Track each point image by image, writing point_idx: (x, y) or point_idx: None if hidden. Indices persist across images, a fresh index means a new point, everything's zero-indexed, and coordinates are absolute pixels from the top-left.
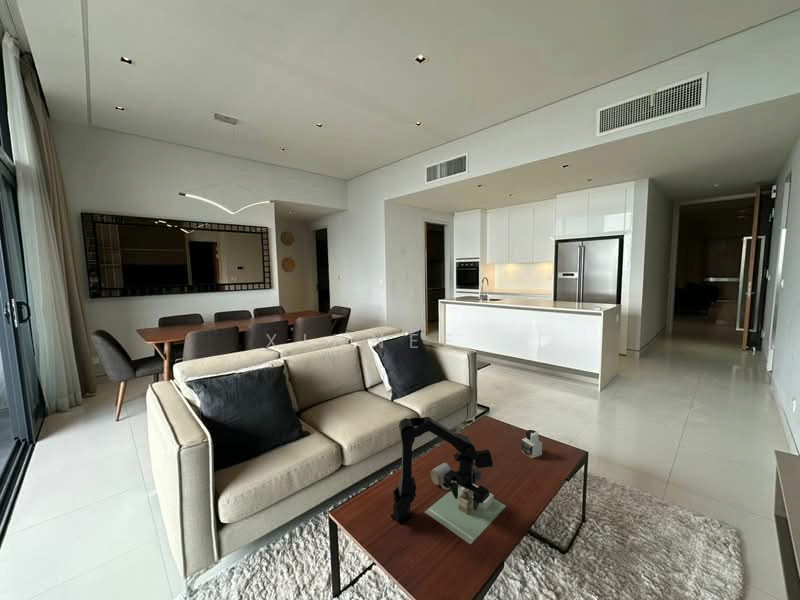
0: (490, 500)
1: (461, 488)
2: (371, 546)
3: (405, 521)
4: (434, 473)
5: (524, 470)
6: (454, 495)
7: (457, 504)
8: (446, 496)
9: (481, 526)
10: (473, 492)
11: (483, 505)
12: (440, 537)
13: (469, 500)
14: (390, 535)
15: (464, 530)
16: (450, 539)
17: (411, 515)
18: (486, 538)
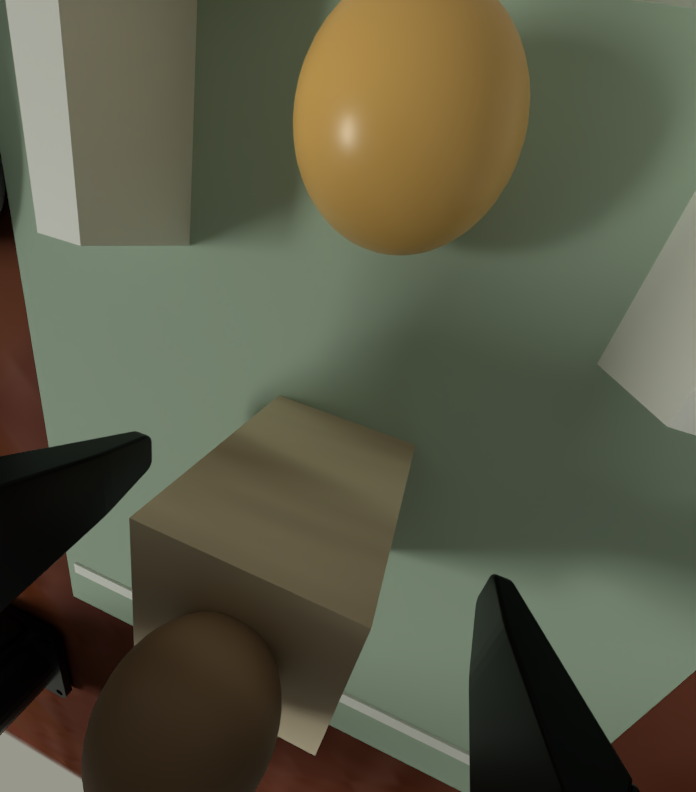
0: None
1: (34, 203)
2: (80, 770)
3: (61, 681)
4: None
5: None
6: (72, 541)
7: (215, 432)
8: (55, 357)
9: (609, 672)
10: (303, 157)
11: (638, 395)
12: (284, 745)
13: (342, 691)
14: (85, 732)
15: (425, 719)
16: (350, 759)
17: (47, 635)
18: (684, 764)
